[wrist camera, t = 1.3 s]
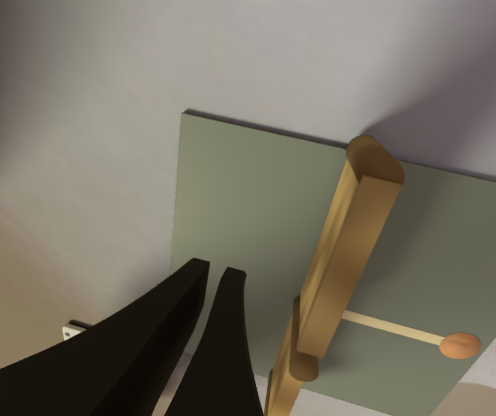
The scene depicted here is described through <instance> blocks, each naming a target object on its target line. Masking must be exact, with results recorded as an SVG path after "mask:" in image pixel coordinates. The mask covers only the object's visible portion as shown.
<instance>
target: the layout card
mask: <svg viewBox="0 0 496 416" xmlns="http://www.w3.org/2000/svg"><path fill="white" fill-rule="evenodd" d="M346 160H347V156H346V148H342V147H337V146H333V145H328V144H324V143H319V142H314V141H310V140H305V139H301V138H296V137H292V136H287V135H283V134H278V133H274V132H269V131H265V130H260V129H256V128H251V127H246V126H242V125H237V124H233V123H228V122H224V121H219V120H215V119H210V118H206V117H201V116H197V115H192V114H188V113H181V122H180V138H179V153H178V168H177V183H176V198H175V213H174V228H173V244H172V259H171V274H170V275H172V274H173V273H174V272H175V271H177V270H178V269H179V268H181V267H182V266H183V265H184V264H185V263H187V262H188V261H189V260H190V259H192V258H198V259H202V260H205V261H209V262H210V268H209V275H208V282H207V289H206V295H205V302H204V306H203V309H202V311H201V314H200V317H199V319H198V322H197V324H196V327H195V329H194V332H193V334H192V336H191V338H190V339H189V341H188V343H187V345H186V347H185V349H184V351H183V352H185V353H188V354H191V355H194V353H195V351H196V349H197V346H198V344H199V342H200V340H201V338H202V335H203V332H204V329H205V327H206V324H207V320H208V317H209V314H210V311H211V308H212V304H213V301H214V298H215V295H216V291H217V288H218V285H219V282H220V279H221V277H222V275H223V273H224V272H225V270H226V268H227V266H228V267H231V268H235V269H239V270H243V271H245V273H246V274H247V276H246V280H245V286H244V311H245V325H246V333H247V341H248V348H249V354H250V359H251V365H252V370H253V373H254V374H257V375H260V376H264V377H267V378H269V372H270V370H271V369H273V368H274V365H275V362H276V359H277V356H278V353H279V350H280V348H281V345H282V342H283V339H284V336H285V333H286V330H287V327H288V324H289V321H290V318H291V316H292V313H293V301H294V299H295V297H297V296H298V295H301V290H302V287H303V284H304V281H305V278H306V276H307V273H308V270H309V267H310V264H311V261H312V258H313V255H314V252H315V250H316V247H317V244H318V241H319V238H320V235H321V232H322V229H323V226H324V224H325V221H326V218H327V215H328V212H329V209H330V206H331V203H332V200H333V198H334V195H335V192H336V189H337V186H338V183H339V180H340V177H341V174H342V172H343V169H344V166H345V163H346ZM395 160H396V159H395ZM396 161H397V162H398V163H399V164H400V165H401V166H402V168H403V170H404V173H405V180H404V183H403V185H402V187H401V188H400V191H399V193H398V195H397V197H396V199H395V202H394V204H393V206H392V208H391V210H390V212H389V215H388V217H387V219H386V221H385V223H384V226H383V228H382V230H381V232H380V234H379V237H378V239H377V241H376V243H375V245H374V247H373V250H372V252H371V254H370V256H369V258H368V261H367V263H366V265H365V267H364V269H363V271H362V274H361V276H360V278H359V280H358V282H357V285H356V287H355V289H354V291H353V293H352V296H351V298H350V300H349V302H348V304H347V306H346V309H345V311H344V313H343V315H342V317H341V320H340V322H339V324H338V326H337V328H336V330H335V333H334V335H333V337H332V339H331V341H330V344H329V346H328V348H327V350H326V352H325V355H324V357H323V358H319V357H318V365H319V376H318V378H317V379H316V380H314V381H311V382H303V384H302V387H301V388H303V389H307V390H310V391H313V392H316V393H320V394H323V395H326V396H330V397H333V398H336V399H339V400H343V401H346V402H349V403H353V404H356V405H359V406H363V407H366V408H369V409H372V410H376V411H379V412H382V413H386V414H389V415H392V416H430V414H431V413H432V412H433V411H434V410H435V409H436V408H437V406H438V405H439V404H440V403H441V402H442V400H443V399H444V398H445V397H446V396H447V394H448V393H449V392H450V391H451V390H452V388H453V387H454V386H455V385H456V384H457V383H458V381H459V380H460V379H461V378H462V377H463V375H464V374H465V373H466V372H467V371H468V370H469V368H470V367H471V366H472V365H473V364H474V362H475V361H476V360H477V359H478V358H479V357H480V355H481V354H482V353H483V352H484V351H485V349H486V348H487V347H488V346H489V345H490V343H491V342H492V341H493V340H494V339H495V338H496V181H491V180H487V179H482V178H478V177H473V176H469V175H464V174H459V173H455V172H450V171H446V170H441V169H437V168H432V167H428V166H423V165H419V164H414V163H410V162H405V161H401V160H396Z"/></svg>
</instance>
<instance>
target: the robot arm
mask: <svg viewBox="0 0 496 416" xmlns="http://www.w3.org/2000/svg"><path fill="white" fill-rule="evenodd" d="M209 268H210V262H209V261H205V260H202V259H198V258H192V259H190V260H189V261H188V262H187V263H185V264H184V265H183V266H182V267H181V268H179V269H178V270H177V271H175V272H174V273H173V274H172V275H170V276H169V277H168V278H166V279H165V280H164V281H162V282H161V283H160V284H158V285H157V286H156V287H154V288H153V289H151V290H150V291H149V292H147V293H146V294H144V295H143V296H141V297H140V298H138V299H137V300H135V301H134V302H132V303H131V304H129V305H128V306H126V307H125V308H123V309H121V310H120V311H118V312H116V313H115V314H113V315H112V316H110V317H108V318H106V319H105V320H103V321H101V322H99V323H97V324H96V325H94V326H92V327H90V328H88V329H84V328H81V327H78V326H74V325H71V324H66V325H65V326H64V327H63V328H62V329H63V335H64V341H63V342H61V343H59V344H57V345H54V346H52V347H50V348H48V349H46V350H44V351H41V352H39V353H37V354H34V355H32V356H30V357H27V358H25V359H23V360H20V361H18V362H16V363H13V364H11V365H8V366H6V367H4V368H1V369H0V416H151V415H152V413H153V411H154V408H155V406H156V404H157V402H158V400H159V398H160V396H161V393H162V391H163V390H164V388H165V386H166V384H167V382H168V380H169V378H170V376H171V374H172V372H173V370H174V368H175V366H176V365H177V363H178V361H179V359H180V357H181V355H182V353H183V351H184V349H185V347H186V345H187V343H188V341H189V339H190V338H191V336H192V334H193V332H194V329H195V327H196V324H197V322H198V319H199V317H200V314H201V311H202V309H203V306H204V302H205V295H206V289H207V282H208V275H209ZM246 276H247V274H246V273H245V271H243V270H239V269H235V268H231V267H228V266H227V268H226V270H225V272H224V273H223V275H222V277H221V279H220V282H219V285H218V288H217V291H216V295H215V298H214V301H213V304H212V308H211V311H210V314H209V317H208V320H207V324H206V327H205V329H204V332H203V335H202V338H201V340H200V342H199V344H198V346H197V349H196V351H195V353H194V355H193V357H192V360H191V362H190V364H189V366H188V368H187V370H186V372H185V374H184V376H183V379H182V381H181V383H180V385H179V387H178V389H177V391H176V393H175V395H174V397H173V399H172V401H171V403H170V405H169V407H168V409H167V411H166V413H165V415H164V416H264V414H263V411H262V407H261V404H260V400H259V396H258V392H257V387H256V383H255V379H254V374H253V370H252V365H251V359H250V354H249V348H248V341H247V333H246V325H245V311H244V286H245V280H246Z"/></svg>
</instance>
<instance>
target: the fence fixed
mask: <svg viewBox="0 0 496 416" xmlns="http://www.w3.org/2000/svg"><path fill="white" fill-rule="evenodd" d="M300 298H301V295H298V296H297V297H295V299H294V301H293V313H292V316H291V318H290V321H289V324H288V327H287V330H286V333H285V336H284V339H283V342H282V345H281V348H280V350H279V353H278V356H277V359H276V362H275V365H274V368H273V369H271V370H270V372H269V379H268V387H267V394H266V402H265V409H264V416H289V414H290V412H291V410H292V407H293V405H294V403H295V400H296V398H297V396H298V393H299V391H300V389H301V387H302V384H303V382H311V381H314V380H316V379H317V378H318V376H319V365H318V357H316V356H312V355H309V354H306V353H302V352H299V351H297V341H298V339H299V323H300Z"/></svg>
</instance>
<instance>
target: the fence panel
mask: <svg viewBox="0 0 496 416" xmlns="http://www.w3.org/2000/svg"><path fill="white" fill-rule="evenodd" d="M346 156H347V160H346V163H345V166H344V169H343V172H342V174H341V177H340V180H339V183H338V186H337V189H336V192H335V195H334V198H333V200H332V203H331V206H330V209H329V212H328V215H327V218H326V221H325V224H324V226H323V229H322V232H321V235H320V238H319V241H318V244H317V247H316V250H315V252H314V255H313V258H312V261H311V264H310V267H309V270H308V273H307V276H306V278H305V281H304V284H303V287H302V290H301V298H300V323H299V339H298V341H297V351H299V352H302V353H306V354H309V355H312V356H316V357H319V358H323V357H324V355H325V352H326V350H327V348H328V346H329V344H330V341H331V339H332V337H333V335H334V333H335V330H336V328H337V326H338V324H339V322H340V320H341V317H342V315H343V313H344V311H345V309H346V306H347V304H348V302H349V300H350V298H351V296H352V293H353V291H354V289H355V287H356V285H357V282H358V280H359V278H360V276H361V274H362V271H363V269H364V267H365V265H366V263H367V261H368V258H369V256H370V254H371V252H372V250H373V247H374V245H375V243H376V241H377V239H378V237H379V234H380V232H381V230H382V228H383V226H384V223H385V221H386V219H387V217H388V215H389V212H390V210H391V208H392V206H393V204H394V202H395V199H396V197H397V195H398V193H399V191H400V188H401V187H402V185H403V183H404V180H405V173H404V170H403V168H402V166H401V165H400V164H399V163H398V162H397V161H396V160H395V159H394V158H393V157H392V156H391V155H390V154H389V153H388V152H387V151H386V150H385V149H384V148H383V147H382V146H381V145H380V144H379V143H378V142H377V141H376V140H375V139H374V138H373V137H371V136H368V135H360V136H357V137H355V138H354V139H352V140H351V141H350V142H349V144H348V145H347V148H346Z"/></svg>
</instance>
